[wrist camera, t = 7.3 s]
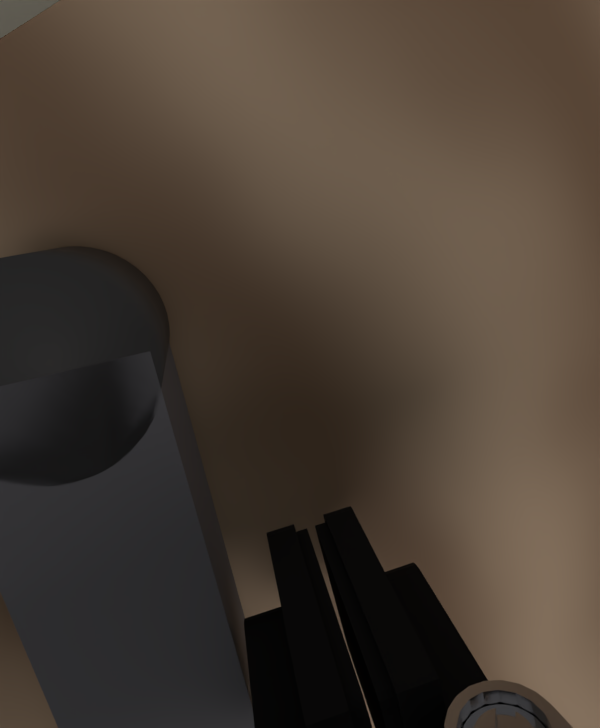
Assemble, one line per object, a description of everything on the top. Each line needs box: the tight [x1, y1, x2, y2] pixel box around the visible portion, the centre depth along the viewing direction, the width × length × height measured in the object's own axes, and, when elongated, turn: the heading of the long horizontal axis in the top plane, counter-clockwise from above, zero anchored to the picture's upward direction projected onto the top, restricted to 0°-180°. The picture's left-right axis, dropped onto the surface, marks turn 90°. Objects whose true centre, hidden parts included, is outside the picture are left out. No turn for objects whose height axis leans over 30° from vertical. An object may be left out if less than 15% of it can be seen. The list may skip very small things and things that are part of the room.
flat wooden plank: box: [0, 0, 600, 728], centre depth 11 cm, size 22×22×6 cm
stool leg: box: [0, 246, 255, 728], centre depth 10 cm, size 18×3×3 cm, turn 11°
